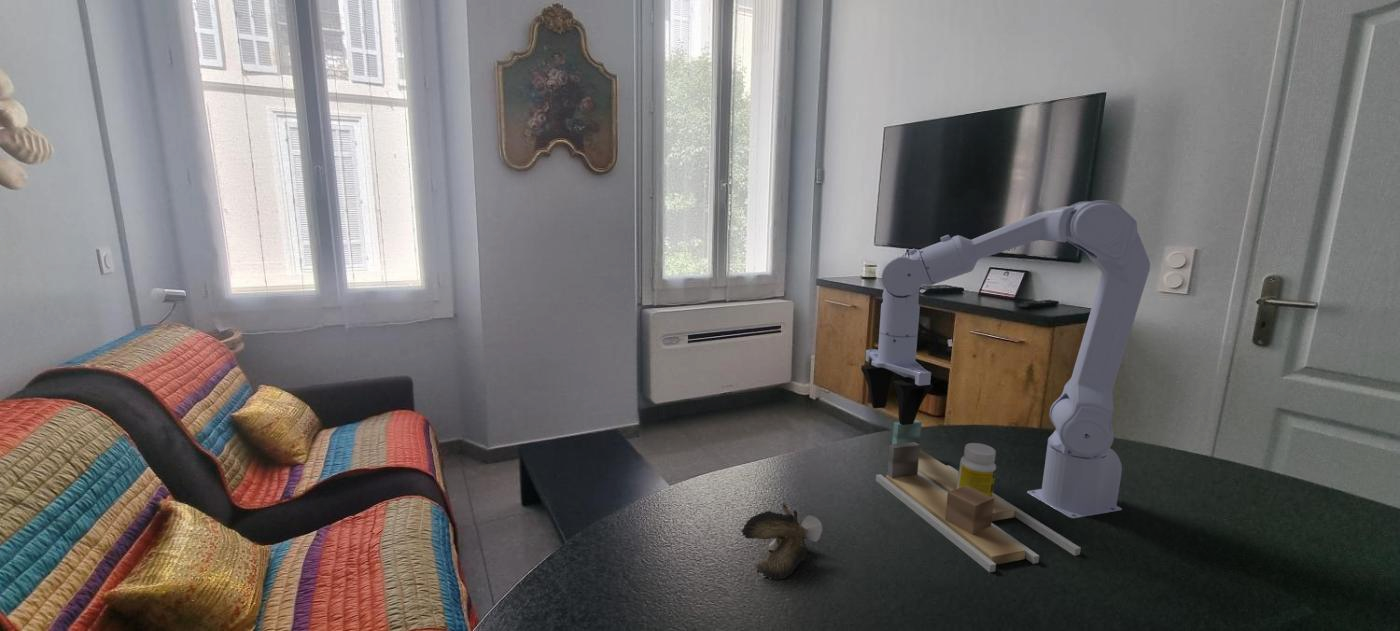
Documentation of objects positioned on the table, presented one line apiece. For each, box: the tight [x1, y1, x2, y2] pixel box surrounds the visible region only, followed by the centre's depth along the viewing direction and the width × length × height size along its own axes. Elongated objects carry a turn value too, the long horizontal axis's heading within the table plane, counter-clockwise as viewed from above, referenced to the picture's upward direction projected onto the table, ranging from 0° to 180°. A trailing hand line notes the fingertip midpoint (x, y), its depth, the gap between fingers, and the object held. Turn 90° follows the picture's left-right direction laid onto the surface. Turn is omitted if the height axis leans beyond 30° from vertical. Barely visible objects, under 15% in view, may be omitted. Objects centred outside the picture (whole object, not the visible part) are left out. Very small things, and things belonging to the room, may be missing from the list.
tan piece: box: [891, 419, 1015, 522], centre depth 89 cm, size 5×22×6 cm, turn 16°
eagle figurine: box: [740, 502, 823, 580], centre depth 71 cm, size 8×7×9 cm
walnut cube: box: [945, 485, 994, 535], centre depth 76 cm, size 4×4×4 cm
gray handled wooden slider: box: [885, 442, 1026, 565], centre depth 79 cm, size 5×22×6 cm, turn 16°
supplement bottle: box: [957, 442, 997, 497], centre depth 83 cm, size 5×5×8 cm
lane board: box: [875, 465, 1081, 573], centre depth 81 cm, size 14×24×2 cm, turn 16°
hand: (892, 415), depth 93 cm, fingers open, 7 cm apart
